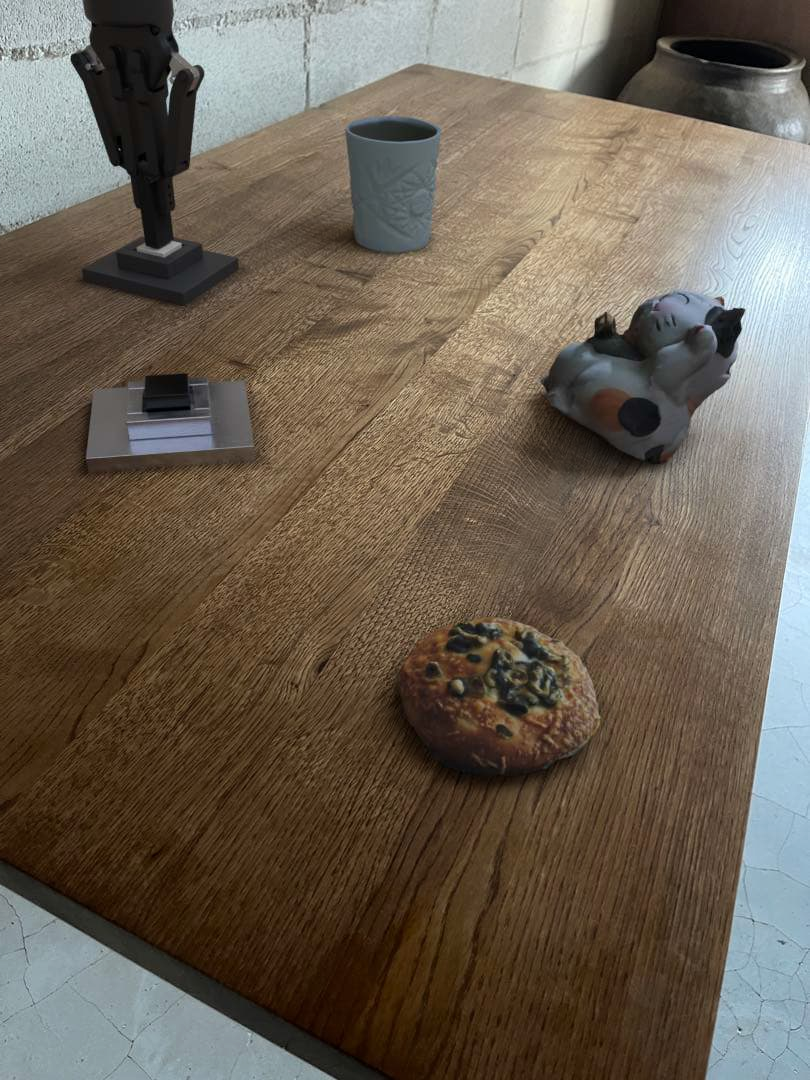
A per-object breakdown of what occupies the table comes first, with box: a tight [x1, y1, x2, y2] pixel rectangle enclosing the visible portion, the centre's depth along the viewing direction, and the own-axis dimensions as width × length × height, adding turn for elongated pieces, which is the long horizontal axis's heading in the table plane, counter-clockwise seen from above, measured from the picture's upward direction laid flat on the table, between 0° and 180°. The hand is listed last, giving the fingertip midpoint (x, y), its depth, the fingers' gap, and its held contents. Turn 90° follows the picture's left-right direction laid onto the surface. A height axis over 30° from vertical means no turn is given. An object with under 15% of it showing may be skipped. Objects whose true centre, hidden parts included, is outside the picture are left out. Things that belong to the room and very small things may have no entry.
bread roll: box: [398, 617, 602, 778], centre depth 50 cm, size 11×11×5 cm
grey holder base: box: [85, 376, 256, 474], centre depth 71 cm, size 12×10×3 cm
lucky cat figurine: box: [539, 288, 746, 464], centre depth 72 cm, size 15×12×14 cm
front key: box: [144, 372, 191, 413], centre depth 70 cm, size 3×3×2 cm
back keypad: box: [81, 235, 240, 306], centre depth 93 cm, size 12×10×3 cm
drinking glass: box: [345, 115, 442, 254], centre depth 101 cm, size 10×10×12 cm
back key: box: [137, 241, 182, 258], centre depth 93 cm, size 3×3×2 cm
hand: (159, 242), depth 92 cm, fingers closed
